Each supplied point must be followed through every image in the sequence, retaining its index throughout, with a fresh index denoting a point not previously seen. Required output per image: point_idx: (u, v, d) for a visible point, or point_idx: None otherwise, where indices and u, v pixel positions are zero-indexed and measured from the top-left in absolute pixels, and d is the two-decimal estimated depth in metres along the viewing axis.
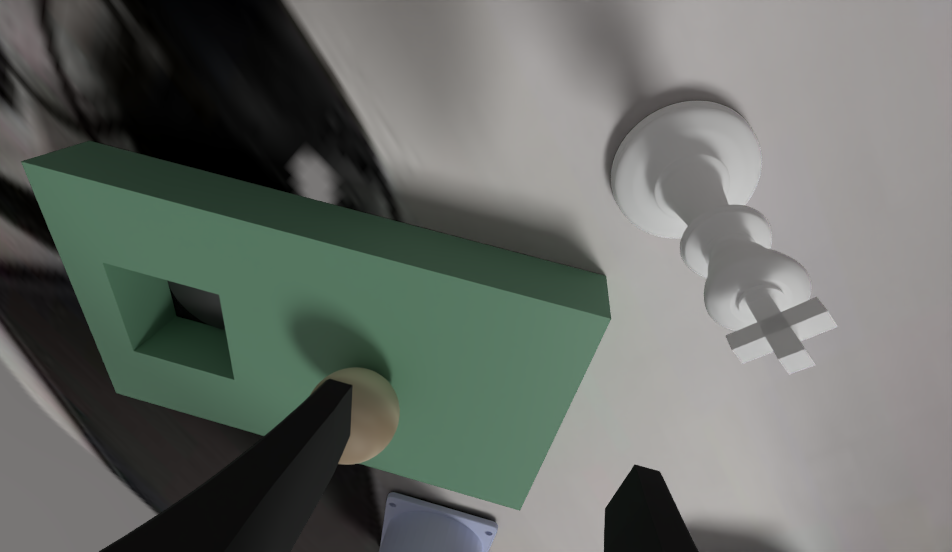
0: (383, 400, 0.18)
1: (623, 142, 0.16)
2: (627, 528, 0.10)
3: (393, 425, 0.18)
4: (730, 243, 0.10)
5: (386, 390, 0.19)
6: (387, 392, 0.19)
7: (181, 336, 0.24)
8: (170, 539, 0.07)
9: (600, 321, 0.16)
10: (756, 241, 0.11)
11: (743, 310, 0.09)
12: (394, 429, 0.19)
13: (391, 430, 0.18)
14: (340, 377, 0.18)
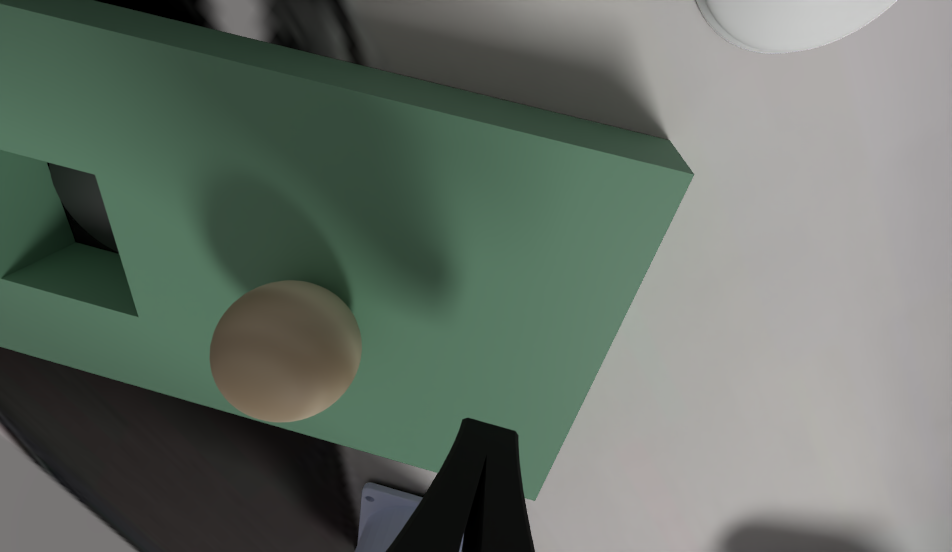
0: (333, 321, 0.12)
1: None
2: None
3: (349, 362, 0.12)
4: None
5: (339, 310, 0.12)
6: (341, 313, 0.12)
7: (76, 264, 0.18)
8: None
9: (676, 180, 0.10)
10: None
11: None
12: (351, 369, 0.12)
13: (345, 370, 0.12)
14: (267, 287, 0.12)
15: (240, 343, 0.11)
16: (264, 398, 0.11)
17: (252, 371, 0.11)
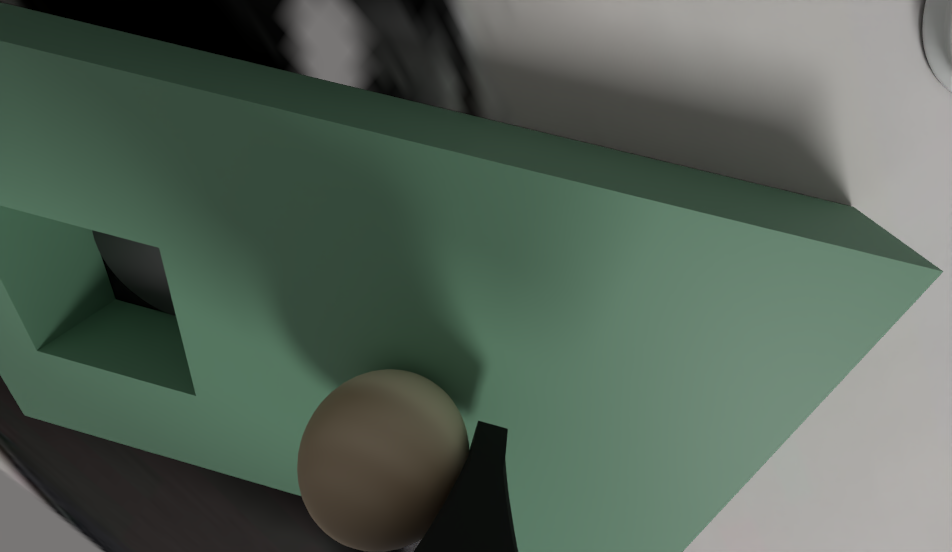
0: (445, 435, 0.10)
1: None
2: None
3: None
4: None
5: (450, 416, 0.10)
6: (452, 420, 0.10)
7: (119, 329, 0.16)
8: None
9: (915, 278, 0.08)
10: None
11: None
12: None
13: None
14: (370, 383, 0.10)
15: (338, 460, 0.09)
16: (360, 532, 0.09)
17: (350, 499, 0.09)
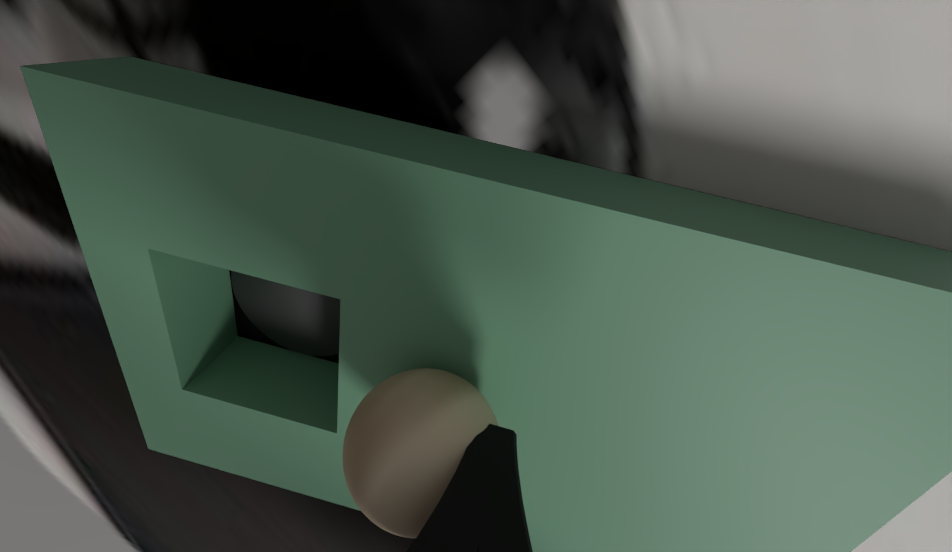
0: (403, 440, 0.09)
1: None
2: None
3: (362, 474, 0.10)
4: None
5: (422, 456, 0.09)
6: (418, 459, 0.09)
7: (249, 366, 0.16)
8: None
9: None
10: None
11: None
12: (358, 485, 0.10)
13: (355, 469, 0.10)
14: (470, 394, 0.11)
15: (411, 370, 0.11)
16: None
17: (384, 380, 0.11)
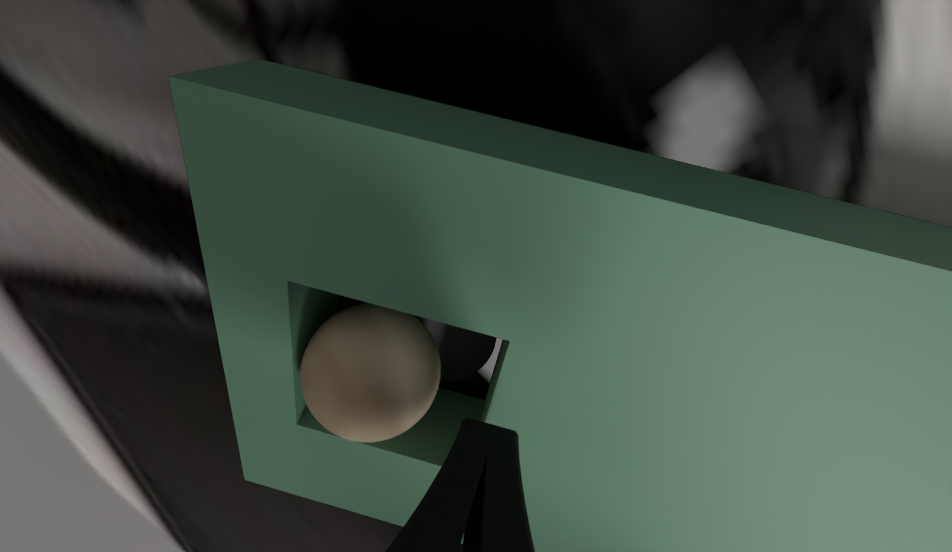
0: (397, 371, 0.11)
1: None
2: None
3: (394, 416, 0.11)
4: None
5: (413, 362, 0.12)
6: (413, 366, 0.12)
7: None
8: None
9: None
10: None
11: None
12: (396, 423, 0.12)
13: (387, 421, 0.11)
14: (372, 308, 0.12)
15: (318, 347, 0.12)
16: (312, 403, 0.12)
17: (312, 376, 0.11)
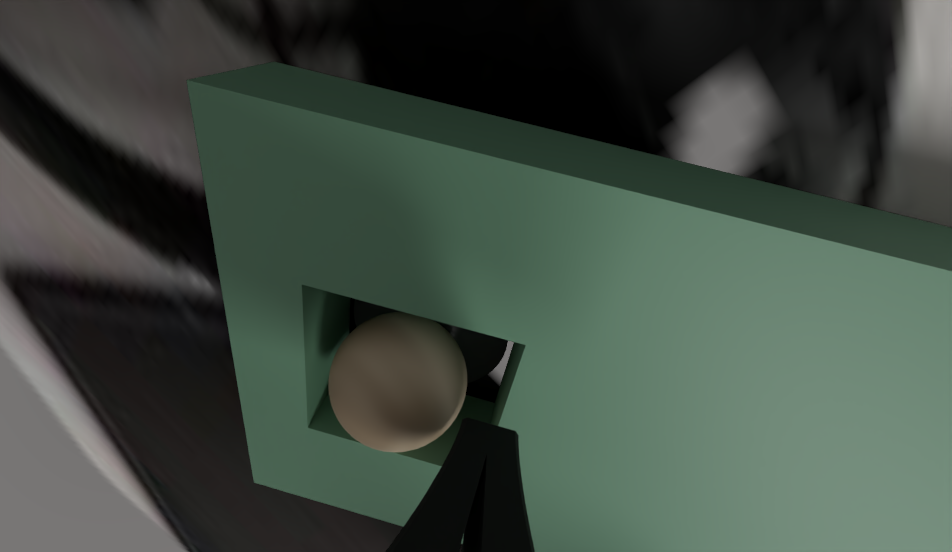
0: (438, 379, 0.11)
1: None
2: None
3: (439, 422, 0.12)
4: None
5: (449, 367, 0.12)
6: (450, 371, 0.12)
7: None
8: None
9: None
10: None
11: None
12: (440, 428, 0.12)
13: (433, 428, 0.12)
14: (395, 321, 0.12)
15: (351, 369, 0.11)
16: (354, 426, 0.11)
17: (351, 399, 0.11)
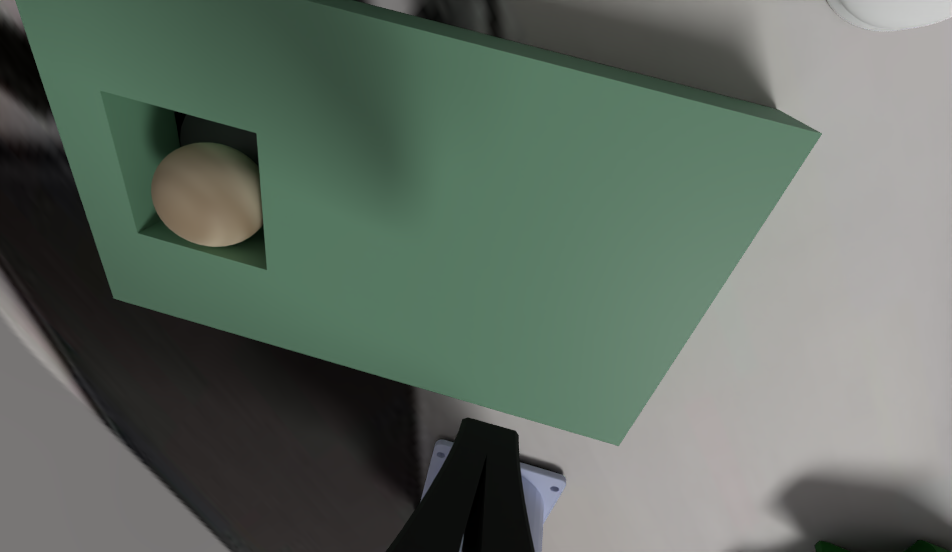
0: (235, 178, 0.16)
1: None
2: (477, 485, 0.10)
3: (245, 212, 0.16)
4: None
5: (245, 172, 0.16)
6: (246, 175, 0.16)
7: None
8: None
9: (804, 139, 0.12)
10: None
11: None
12: (248, 218, 0.17)
13: (240, 216, 0.16)
14: (197, 144, 0.16)
15: (164, 176, 0.15)
16: (176, 218, 0.16)
17: (168, 197, 0.15)
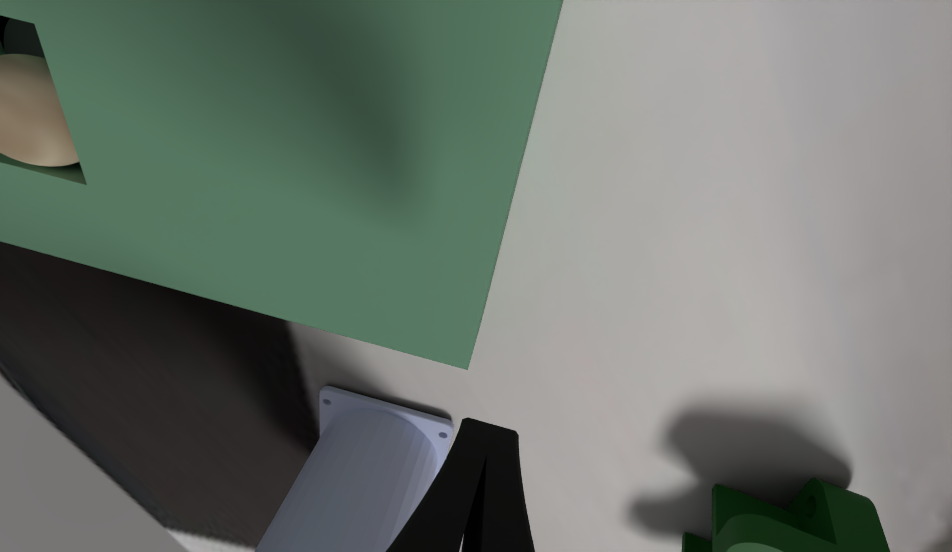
0: None
1: None
2: None
3: None
4: None
5: None
6: None
7: None
8: None
9: None
10: None
11: None
12: None
13: None
14: None
15: None
16: None
17: None
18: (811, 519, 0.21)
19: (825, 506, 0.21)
